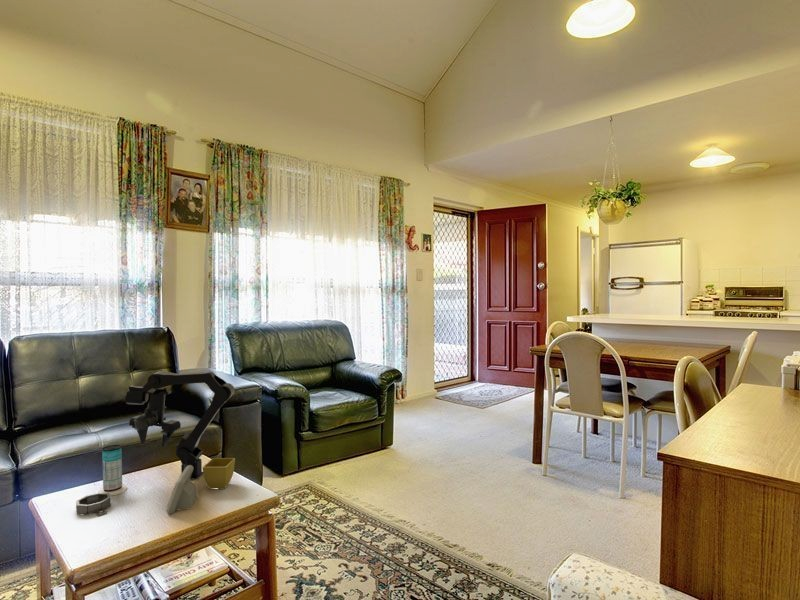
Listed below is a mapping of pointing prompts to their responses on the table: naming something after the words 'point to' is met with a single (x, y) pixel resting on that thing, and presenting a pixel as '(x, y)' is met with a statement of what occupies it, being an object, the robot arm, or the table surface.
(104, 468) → the beverage can
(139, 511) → the table surface
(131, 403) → the robot arm
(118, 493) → the dome ceiling light
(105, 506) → the eye ring
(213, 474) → the flower pot
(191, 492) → the digital clock
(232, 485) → the table surface
